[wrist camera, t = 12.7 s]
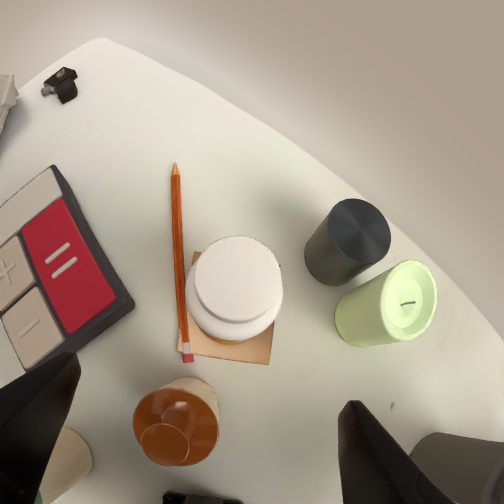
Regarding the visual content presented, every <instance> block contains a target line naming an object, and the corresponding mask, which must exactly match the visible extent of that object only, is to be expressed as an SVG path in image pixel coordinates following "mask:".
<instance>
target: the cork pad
mask: <svg viewBox="0 0 504 504" xmlns="http://www.w3.org/2000/svg"><path fill="white" fill-rule="evenodd" d="M201 254H202V253H201V252H194V256H193V261H192V266H193V265H194V263H195V262H196V261H197V259H198V258H199V257H200V255H201ZM192 266H191V268H192ZM279 267H280V265H279ZM185 301H186V298H185ZM186 312H187V321H188V331H189V340H190V348H191V354H195V355H201V356H207V357H213V358H220V359H226V360H233V361H241V362H248V363H257V364H265V365H269V361H270V353H271V345H272V337H273V328H274V321H273V322H272V323H271V324H270V325H269V326H268V327H267V328H266V329H265V330H264V331H263V332H261V333H260V334H258V335H256V336H254V337H252V338H250V339H248V340H246V341H244V342H241V343H237V344H222V343H219V342H216V341H214V340H212V339H210V338H209V337H207V336H206V335H205V334H204V333H203V332H202V331H201V330H200V328H199V327H198V326H197V324H196V322H195V321H194V319H193V318H192V316H191V314H190V312H189V310H188V307H187V303H186ZM274 320H275V319H274ZM177 351H179V352H183V347H182V338H181V329H180V332H179V338H178V345H177Z"/></svg>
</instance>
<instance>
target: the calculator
mask: <svg viewBox="0 0 504 504" xmlns="http://www.w3.org/2000/svg"><path fill="white" fill-rule="evenodd" d="M134 307H135V302H134V301H133V299H132V297H131V296H130V294H129V293H128V291H127V290H126V288H125V287H124V285H123V283H122V282H121V280H120V279H119V277H118V275H117V274H116V272H115V270H114V269H113V267H112V266H111V264H110V262H109V260H108V259H107V257H106V255H105V254H104V252H103V250H102V248H101V247H100V245H99V243H98V241H97V240H96V238H95V236H94V234H93V232H92V231H91V229H90V227H89V225H88V223H87V221H86V219H85V217H84V216H83V214H82V212H81V209H80V206H79V204H78V202H77V200H76V198H75V196H74V194H73V192H72V190H71V188H70V186H69V184H68V182H67V181H66V179H65V178H64V177H63V175H62V174H61V172H60V171H59V170H58V168H57V167H56V166H55V165H51V166H49V167H48V168H47V169H45V170H44V171H43V172H41V173H40V174H39V175H38V176H36V177H35V178H34V179H32V180H31V181H30V182H29V183H27V184H26V185H25V186H24V187H23V188H21V189H20V190H19V191H18V192H17V193H15V194H14V195H13V196H12V197H11V198H10V199H9V200H7V201H6V202H5V203H4V204H3V205H2V206H1V207H0V318H1V321H2V323H3V326H4V328H5V330H6V333H7V335H8V337H9V340H10V342H11V344H12V346H13V348H14V350H15V352H16V354H17V357H18V359H19V361H20V363H21V364H22V366H23V368H24V370H25V372H26V373H27V372H29V371H30V370H32V369H34V368H35V367H37V366H39V365H40V364H42V363H44V362H45V361H47V360H49V359H50V358H52V357H54V356H55V355H57V354H59V353H60V352H62V351H64V350H68V351H71V352H74V353H76V352H77V351H78V350H80V349H81V348H82V347H83V346H85V345H86V344H87V343H89V342H90V341H91V340H93V339H94V338H95V337H97V336H98V335H99V334H101V333H102V332H103V331H105V330H106V329H107V328H109V327H110V326H111V325H113V324H114V323H115V322H117V321H118V320H119V319H121V318H122V317H123V316H125V315H126V314H127V313H129V312H130V311H131V310H133V309H134Z"/></svg>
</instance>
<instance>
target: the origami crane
mask: <svg viewBox="0 0 504 504" xmlns="http://www.w3.org/2000/svg"><path fill="white" fill-rule="evenodd" d="M18 95H19V93H18V91H17V90H16V88H15V86H14V75H0V135H1V132H2V129H3V125H4V122H5V119H6V117H7V114H8V111H9V108H11V107H13V106H16V97H17V96H18Z"/></svg>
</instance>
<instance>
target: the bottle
mask: <svg viewBox="0 0 504 504" xmlns="http://www.w3.org/2000/svg"><path fill="white" fill-rule="evenodd" d="M410 458H411V459H412V460H413V461H414V462H415V464H416V465H417V466H418V467H419V468H420V470H422V471H423V473H424V474H425V475H426V476H427V477H428V478H429V479H430V480H431V481H432V482H433V483H434V484H435V485H436V486H437V487H438V488H439V489H440V490H441V491H442V492H443V493H444V494H445V495H447V496H448V497H449V498H450V499H451V500H452V501H454V502H457V503H459V504H504V443H502V442H494V441H487V440H480V439H474V438H468V437H462V436H456V435H451V434H446V433H433V434H431V435H429V436H427V437H425V438H424V439H423V440H422V441H421V442H420V443H419V444H418V445H417V446H416V448H415V449H414V451H413V452H412V454H411V456H410Z"/></svg>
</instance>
